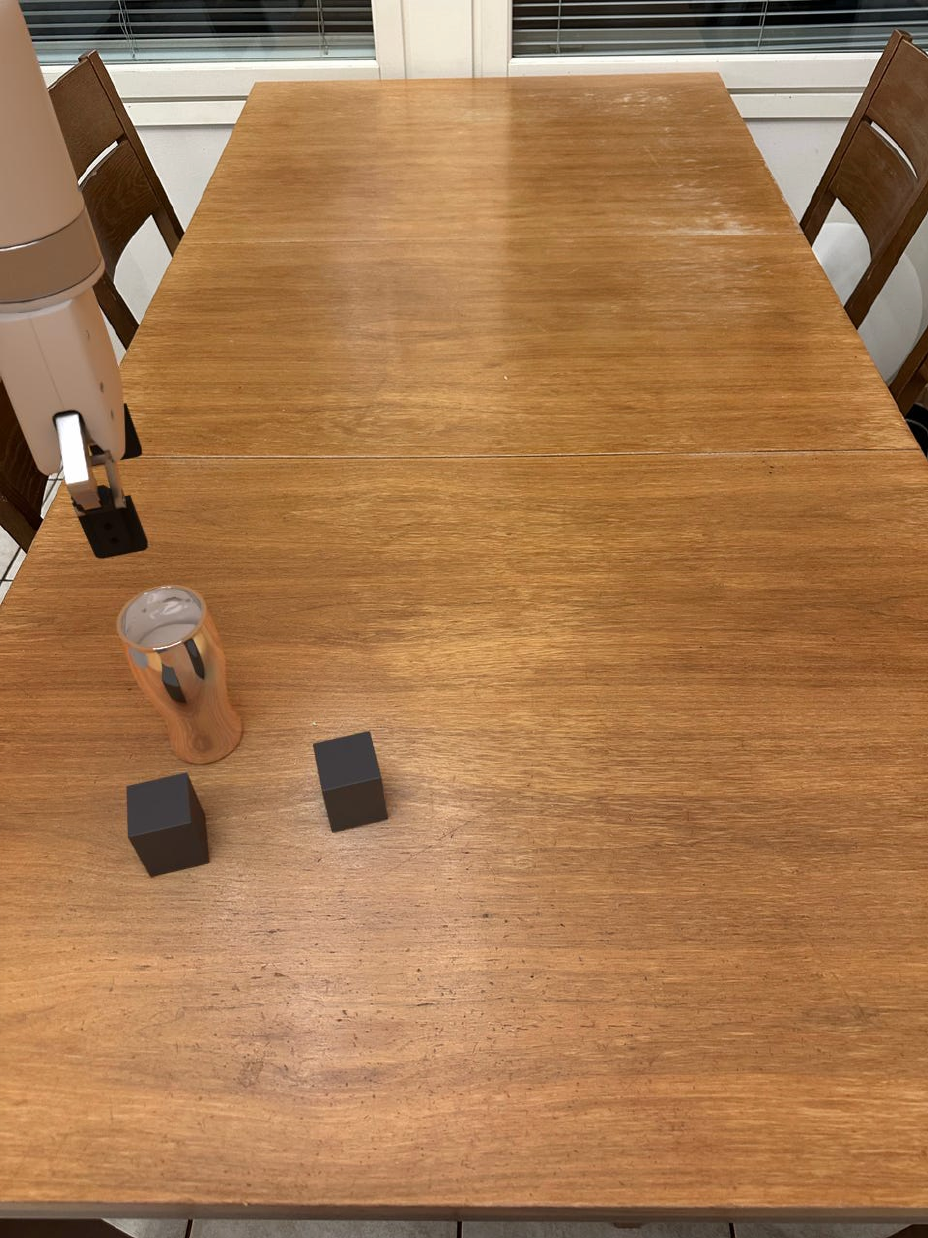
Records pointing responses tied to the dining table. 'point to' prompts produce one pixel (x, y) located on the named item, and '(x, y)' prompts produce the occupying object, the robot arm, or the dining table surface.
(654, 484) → the dining table surface
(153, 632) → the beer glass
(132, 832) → the block left
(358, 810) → the block right
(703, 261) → the dining table surface
